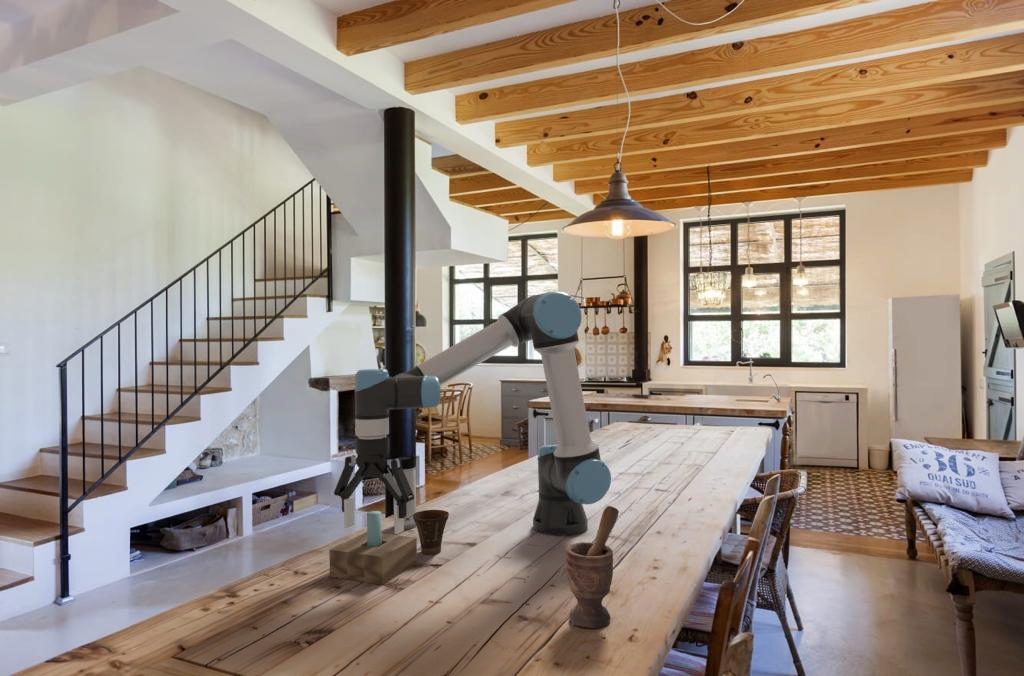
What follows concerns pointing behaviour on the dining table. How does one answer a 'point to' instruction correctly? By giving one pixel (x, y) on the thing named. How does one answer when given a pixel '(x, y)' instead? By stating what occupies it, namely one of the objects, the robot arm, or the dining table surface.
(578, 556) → the mortar and pestle
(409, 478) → the travel mug
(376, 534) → the dowel
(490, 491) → the dining table surface
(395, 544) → the socket block
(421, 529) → the cup
